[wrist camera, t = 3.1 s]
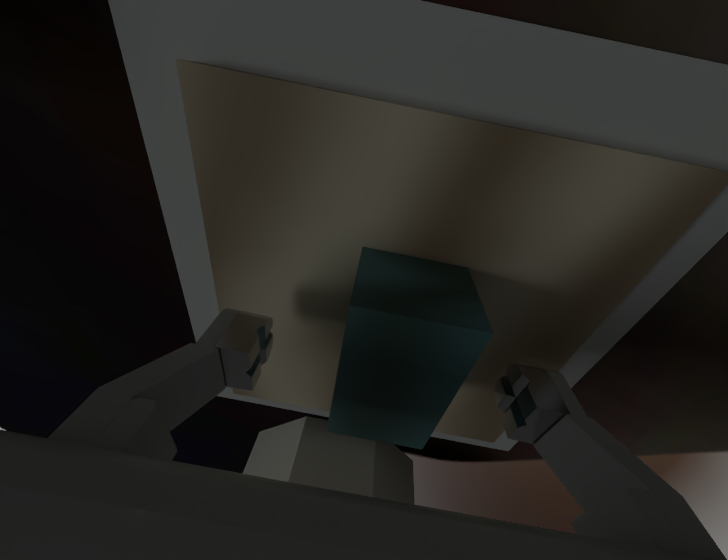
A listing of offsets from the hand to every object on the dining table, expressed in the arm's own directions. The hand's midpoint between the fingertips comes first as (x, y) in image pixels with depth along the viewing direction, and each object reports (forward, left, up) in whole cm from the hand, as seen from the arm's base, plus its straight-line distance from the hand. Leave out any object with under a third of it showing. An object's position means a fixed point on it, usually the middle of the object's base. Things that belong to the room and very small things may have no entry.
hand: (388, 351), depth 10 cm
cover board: (0, 0, -2) cm, 2 cm away
